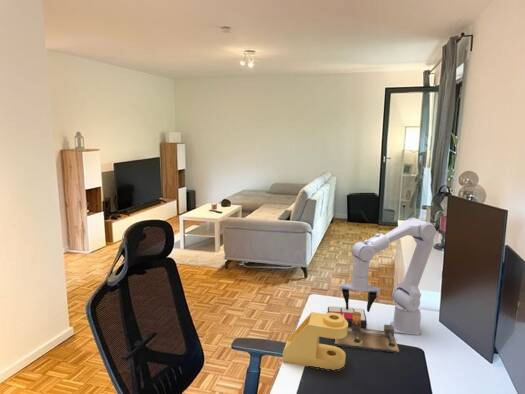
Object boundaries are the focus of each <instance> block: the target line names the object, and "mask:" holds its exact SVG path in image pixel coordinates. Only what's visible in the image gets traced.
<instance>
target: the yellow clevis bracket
mask: <svg viewBox="0 0 525 394" xmlns="http://www.w3.org/2000/svg"><path fill="white" fill-rule="evenodd" d="M347 332H348V322H347V320H345V318H344V316H342V315H341V314H338V313H328V312H326V313H321V312H315V311H311V312H310V314H309V315H307V317H306V318H305V319H304V320H303V321H302V322H301V323H300V325H299V326H298V327H296V329H294V331H293V332H292V333H291V334H290V335H289V336H288V337H287V340H286V343H285V347H284V348H283V350H282V362H283V363H287V364H293V365H298V366H303V367H308V366H314V367H320V368H325V369H332V370H335V369H340V368H342V367H344V368H345V366H346V355H347V354H346V352H345V350H343V349H342V348H341V347H337V346H335V345H331V344H330V345H329V344H324V343H320V337H321V338H325V339H332V340H334V339H342V338H344V337H346V336H347ZM344 365H345V366H344Z"/></svg>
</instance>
